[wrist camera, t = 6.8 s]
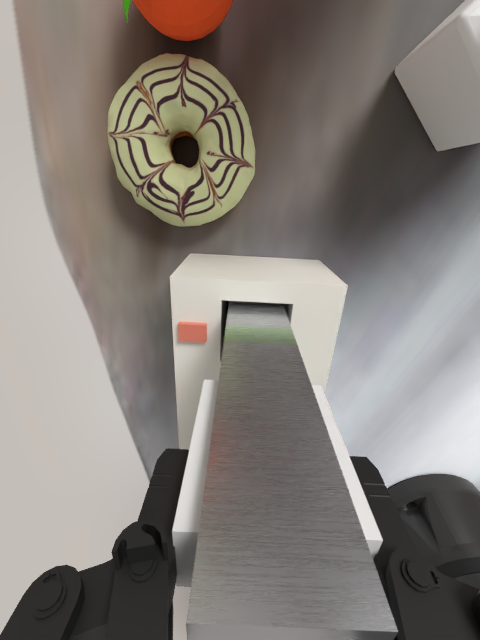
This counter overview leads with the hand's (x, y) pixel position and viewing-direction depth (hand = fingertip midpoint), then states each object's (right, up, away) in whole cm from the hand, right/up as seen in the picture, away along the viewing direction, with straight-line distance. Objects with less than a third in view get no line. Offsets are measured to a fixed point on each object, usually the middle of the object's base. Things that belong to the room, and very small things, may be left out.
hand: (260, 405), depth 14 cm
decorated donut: (-5, +18, +10) cm, 21 cm away
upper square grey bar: (0, +4, +9) cm, 10 cm away
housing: (0, +2, +16) cm, 16 cm away
